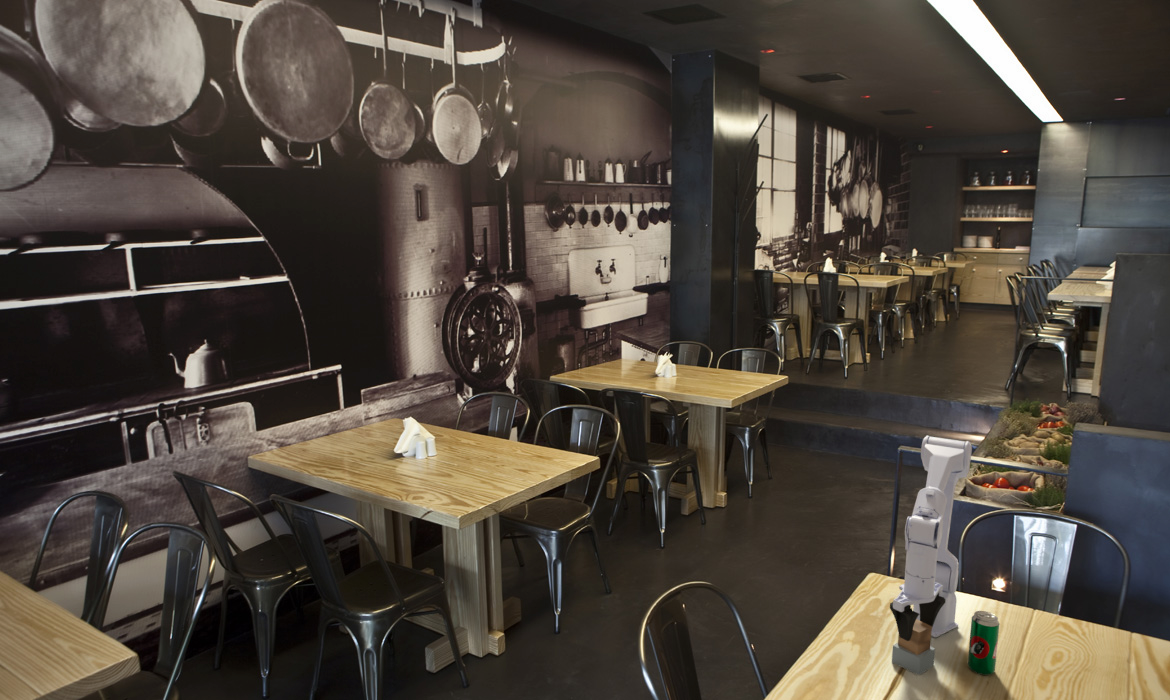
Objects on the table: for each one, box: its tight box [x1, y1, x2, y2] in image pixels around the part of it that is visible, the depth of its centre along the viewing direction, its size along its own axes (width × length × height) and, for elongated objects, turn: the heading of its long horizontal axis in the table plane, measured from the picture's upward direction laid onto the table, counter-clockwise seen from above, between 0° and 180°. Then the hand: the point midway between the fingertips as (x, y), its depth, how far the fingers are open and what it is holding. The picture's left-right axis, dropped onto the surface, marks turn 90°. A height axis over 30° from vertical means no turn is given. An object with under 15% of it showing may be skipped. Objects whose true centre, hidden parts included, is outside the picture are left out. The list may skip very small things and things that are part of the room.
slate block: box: [891, 642, 936, 676], centre depth 156 cm, size 6×6×4 cm
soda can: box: [967, 610, 1000, 676], centre depth 154 cm, size 5×5×12 cm
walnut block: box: [897, 619, 932, 655], centre depth 156 cm, size 4×4×5 cm
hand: (915, 633), depth 156 cm, fingers open, 7 cm apart
